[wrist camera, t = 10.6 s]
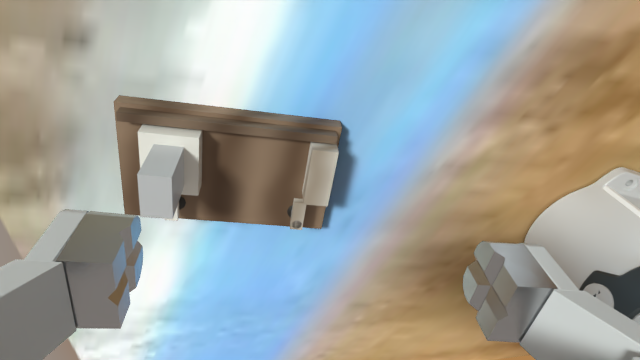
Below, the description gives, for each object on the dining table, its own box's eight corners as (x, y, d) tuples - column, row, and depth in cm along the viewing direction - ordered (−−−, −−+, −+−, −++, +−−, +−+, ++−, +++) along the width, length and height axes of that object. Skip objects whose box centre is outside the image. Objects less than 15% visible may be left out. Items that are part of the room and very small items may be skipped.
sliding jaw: (202, 128, 38) (188, 167, 32) (201, 210, 42) (188, 257, 36) (143, 121, 37) (118, 161, 31) (149, 205, 41) (127, 254, 36)
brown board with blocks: (340, 120, 40) (345, 138, 37) (320, 220, 46) (323, 241, 43) (119, 95, 37) (104, 111, 34) (129, 205, 43) (117, 228, 40)
